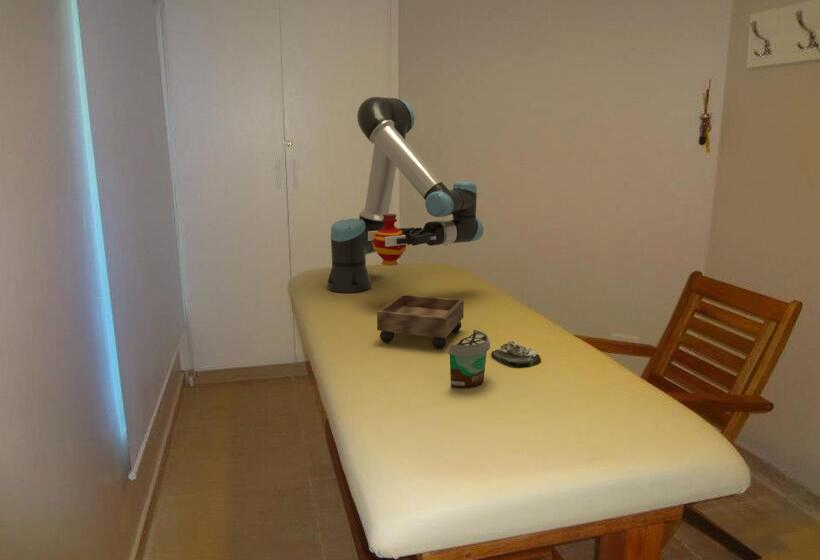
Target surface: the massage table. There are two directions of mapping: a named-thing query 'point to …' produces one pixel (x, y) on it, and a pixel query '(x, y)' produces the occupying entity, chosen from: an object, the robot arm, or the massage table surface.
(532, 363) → the grey lumpy piece
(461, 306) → the dolly
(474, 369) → the food container
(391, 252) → the potion bottle
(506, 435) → the massage table surface
